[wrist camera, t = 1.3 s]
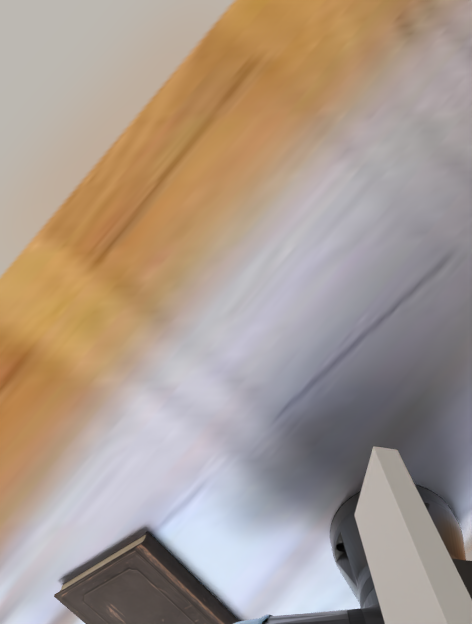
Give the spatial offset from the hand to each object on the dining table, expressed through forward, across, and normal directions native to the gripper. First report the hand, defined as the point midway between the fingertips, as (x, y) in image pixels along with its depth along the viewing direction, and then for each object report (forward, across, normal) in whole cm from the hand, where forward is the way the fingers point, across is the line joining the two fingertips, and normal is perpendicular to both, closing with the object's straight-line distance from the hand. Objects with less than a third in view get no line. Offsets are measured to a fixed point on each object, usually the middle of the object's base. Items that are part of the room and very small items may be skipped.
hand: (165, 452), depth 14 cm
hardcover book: (+33, +3, +50) cm, 60 cm away
